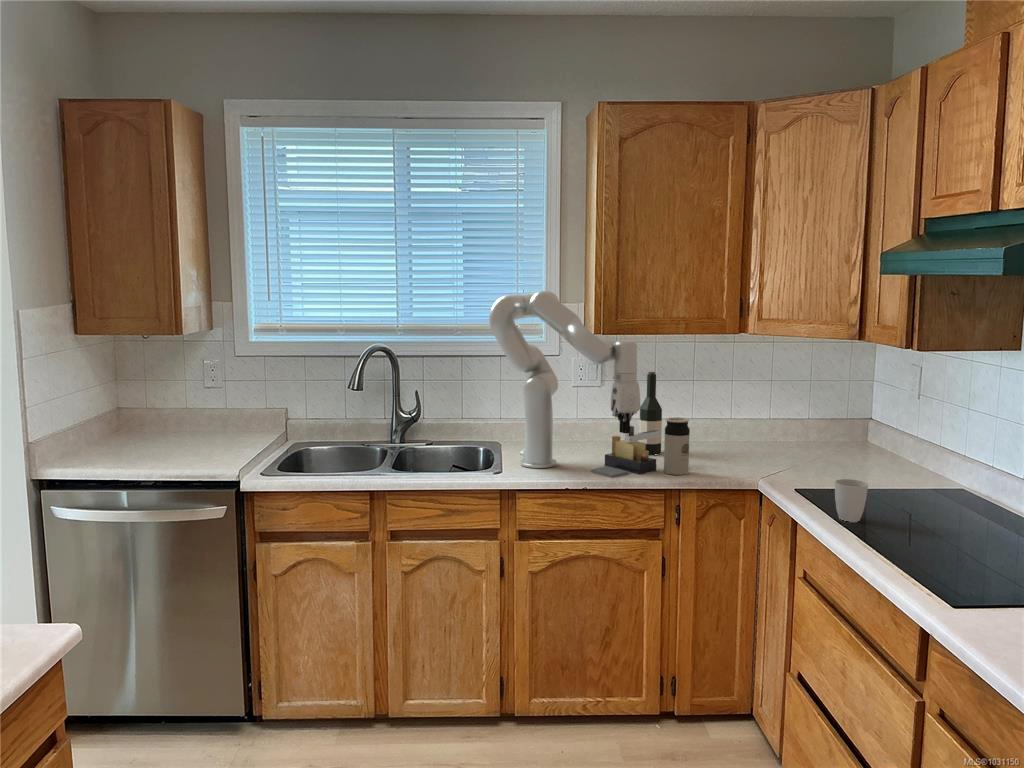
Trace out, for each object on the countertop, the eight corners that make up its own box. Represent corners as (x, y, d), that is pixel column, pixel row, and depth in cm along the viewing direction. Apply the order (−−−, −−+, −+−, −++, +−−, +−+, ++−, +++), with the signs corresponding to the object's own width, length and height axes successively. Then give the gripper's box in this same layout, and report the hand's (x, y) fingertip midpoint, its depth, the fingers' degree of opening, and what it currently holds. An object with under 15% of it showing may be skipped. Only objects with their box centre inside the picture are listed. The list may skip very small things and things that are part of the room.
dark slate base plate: (604, 465, 275) (605, 437, 274) (620, 462, 280) (621, 434, 279) (639, 474, 263) (640, 444, 261) (656, 470, 268) (656, 441, 266)
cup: (857, 515, 217) (859, 478, 216) (871, 524, 209) (873, 486, 208) (827, 515, 217) (829, 479, 215) (840, 524, 209) (843, 486, 207)
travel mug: (659, 471, 267) (660, 418, 265) (678, 469, 270) (680, 416, 268) (673, 476, 260) (674, 421, 257) (693, 474, 263) (694, 420, 261)
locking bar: (624, 441, 270) (624, 426, 269) (655, 435, 280) (656, 421, 279) (629, 442, 268) (630, 427, 268) (661, 436, 278) (661, 422, 278)
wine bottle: (635, 454, 294) (637, 372, 290) (642, 449, 301) (644, 370, 297) (657, 456, 290) (659, 373, 286) (664, 452, 297) (666, 371, 294)
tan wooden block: (615, 456, 272) (615, 441, 271) (627, 453, 276) (627, 439, 275) (633, 460, 266) (633, 445, 265) (645, 457, 270) (645, 442, 269)
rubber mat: (590, 471, 266) (590, 469, 266) (606, 468, 271) (606, 466, 271) (612, 477, 259) (612, 475, 259) (628, 473, 264) (628, 471, 264)
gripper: (617, 380, 258) (617, 437, 260) (649, 377, 267) (648, 431, 269) (601, 378, 264) (600, 433, 266) (632, 375, 273) (631, 428, 275)
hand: (624, 432), depth 268 cm, fingers closed
